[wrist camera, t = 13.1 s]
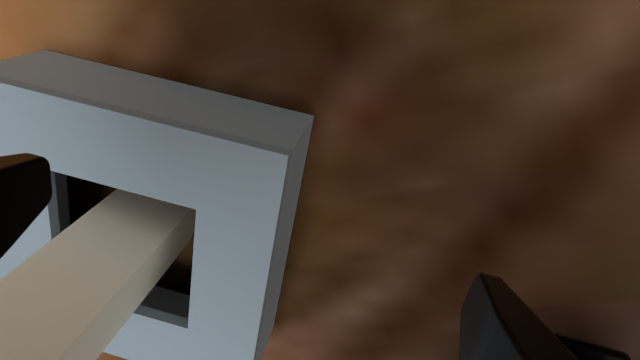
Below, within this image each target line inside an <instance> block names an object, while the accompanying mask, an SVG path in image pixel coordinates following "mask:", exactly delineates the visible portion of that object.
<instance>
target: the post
mask: <svg viewBox="0 0 640 360" xmlns="http://www.w3.org/2000/svg"><path fill="white" fill-rule="evenodd" d="M195 219H196V210H195V209H192V208H188V207H184V206H180V205H177V204H173V203H169V202H166V201H162V200H158V199H154V198H151V197H147V196H143V195H139V194H136V193H132V192H128V191H125V190H121V189H116V190H115V191H114V192H112V193H111V194H110V195H108V196H107V197H106V198H105V199H103V200H102V201H101V202H99V203H98V204H97V205H96V206H94V207H93V208H92V209H90V210H89V211H88V212H87V213H85V214H84V215H83V216H82V217H80V218H79V219H78V220H76V221H75V222H74V223H73V224H71V225H70V226H69V227H67V228H66V229H65V230H64V231H62V232H61V233H60V234H58V235H57V236H56V237H55V238H53V239H52V240H51V241H50V242H48V243H47V244H46V245H44V246H43V247H42V248H41V249H39V250H38V251H37V252H35V253H34V254H33V255H32V256H30V257H29V258H28V259H26V260H25V261H24V262H23V263H21V264H20V265H19V266H17V267H16V268H15V269H14V270H12V271H11V272H10V273H9V274H7V275H6V276H5V277H3V278H2V279H1V280H0V360H96V359H97V358H98V357H99V356H100V354H101V353H102V352H103V351H104V349H105V348H106V347H107V346H108V344H109V343H110V342H111V340H112V339H113V338H114V337H115V335H116V334H117V333H118V332H119V330H120V329H121V328H122V326H123V325H124V324H125V323H126V321H127V320H128V319H129V318H130V316H131V315H132V314H133V313H134V311H135V310H136V309H137V307H138V306H139V305H140V304H141V302H142V301H143V300H144V299H145V297H146V296H147V295H148V293H149V292H150V291H151V290H152V288H153V287H154V286H155V285H156V283H157V282H158V281H159V280H160V278H161V277H162V276H163V274H164V273H165V272H166V271H167V269H168V268H169V267H170V266H171V264H172V263H173V262H174V260H175V259H176V258H177V257H178V255H179V254H180V253H181V252H182V250H183V249H184V248H185V246H186V245H187V244H188V243H189V241H190V240H191V238H192V235H193V232H194V229H195Z"/></svg>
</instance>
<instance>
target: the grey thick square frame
mask: <svg viewBox="0 0 640 360" xmlns="http://www.w3.org/2000/svg"><path fill="white" fill-rule="evenodd" d="M313 119H314V116H313V115H309V114H305V113H301V112H297V111H293V110H289V109H285V108H281V107H277V106H273V105H268V104H264V103H260V102H256V101H252V100H248V99H244V98H240V97H236V96H232V95H228V94H224V93H220V92H216V91H211V90H207V89H203V88H199V87H195V86H191V85H187V84H183V83H179V82H175V81H171V80H167V79H163V78H159V77H155V76H150V75H146V74H142V73H138V72H134V71H130V70H126V69H122V68H118V67H114V66H110V65H106V64H102V63H98V62H93V61H89V60H85V59H81V58H77V57H73V56H69V55H65V54H61V53H57V52H53V51H49V50H41V51H37V52H33V53H29V54H25V55H21V56H17V57H13V58H9V59H5V60H1V61H0V156H6V155H14V154H21V153H30V154H34V155H38V156H42V157H45V158H46V159H47V160H48V161H49V163H50V170H51V179H52V189H53V194H52V198H51V201H50V202H49V204H48V205H47V206H46V207H45V209H44V210H43V211H42V212H41V213H40V214H39V216H38V217H37V218H36V219H35V220H34V221H33V222H32V224H31V225H30V226H29V227H28V228H27V229H26V231H25V232H24V233H23V234H22V235H21V236H20V238H19V239H18V240H17V241H16V242H15V243H14V244H13V246H12V247H11V248H10V249H9V250H8V251H7V252H6V253H5V255H4V256H3V257H2V258H1V259H0V280H1V279H2V278H3V277H5V276H6V275H7V274H9V273H10V272H11V271H12V270H14V269H15V268H16V267H17V266H19V265H20V264H21V263H23V262H24V261H25V260H26V259H28V258H29V257H30V256H32V255H33V254H34V253H35V252H37V251H38V250H39V249H41V248H42V247H43V246H44V245H46V244H47V243H48V242H50V241H51V240H52V239H53V238H55V237H56V236H57V235H58V234H60V233H61V232H62V231H64V230H65V229H66V228H67V227H69V226H70V215H69V203H68V191H67V179H66V175H69V176H72V177H76V178H80V179H84V180H87V181H91V182H95V183H98V184H102V185H106V186H110V187H113V188H117V189H121V190H125V191H128V192H132V193H136V194H139V195H143V196H147V197H151V198H154V199H158V200H162V201H166V202H169V203H173V204H177V205H180V206H184V207H188V208H192V209H195V210H196V219H195V233H194V247H193V261H192V275H191V289H190V295H187V294H183V293H180V292H176V291H173V290H169V289H166V288H162V287H159V286H154V287H153V288H152V290H151V291H150V292H149V293H148V295H147V296H146V297H145V299H144V300H143V301H142V302H141V304H140V305H139V306H138V307H137V309H136V310H135V311H134V313H133V314H132V315H131V316H130V318H129V319H128V320H127V321H126V323H125V324H124V325H123V326H122V328H121V329H120V330H119V332H118V333H117V334H116V335H115V337H114V338H113V339H112V340H111V342H110V343H109V344H108V346H107V347H106V348H105V349H104V351H103V352H105V353H109V354H112V355H115V356H119V357H122V358H125V359H129V360H261V358H262V356H263V353H264V350H265V348H266V345H267V343H268V340H269V337H270V335H271V332H272V330H273V327H274V322H275V317H276V312H277V306H278V301H279V296H280V291H281V286H282V280H283V275H284V270H285V265H286V260H287V254H288V249H289V244H290V239H291V234H292V228H293V223H294V218H295V213H296V208H297V202H298V197H299V192H300V187H301V182H302V176H303V171H304V166H305V161H306V156H307V150H308V145H309V140H310V135H311V130H312V124H313Z"/></svg>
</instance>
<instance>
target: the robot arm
mask: <svg viewBox="0 0 640 360" xmlns="http://www.w3.org/2000/svg"><path fill="white" fill-rule="evenodd" d="M52 194H53V189H52V179H51V170H50V163H49V161H48V160H47V159H46V158H45V157H42V156H38V155H34V154H30V153H21V154H14V155H6V156H0V259H1V258H2V257H3V256H4V255H5V253H6V252H7V251H8V250H9V249H10V248H11V247H12V246H13V244H14V243H15V242H16V241H17V240H18V239H19V238H20V236H21V235H22V234H23V233H24V232H25V231H26V229H27V228H28V227H29V226H30V225H31V224H32V222H33V221H34V220H35V219H36V218H37V217H38V216H39V214H40V213H41V212H42V211H43V210H44V209H45V207H46V206H47V205H48V204H49V202H50V201H51V198H52ZM460 360H631V359H630V357H629V356H626V355H624V354H620V353H616V352H613V351H609V350H605V349H602V348H598V347H594V346H591V345H587V344H583V343H580V342H576V341H572V340H569V339H565V338H561V337H558V336H555V335H554V334H553V332H552V331H551V330H550V329H549V328H548V327H547V326H546V325H545V324H544V323H543V322H542V321H541V320H540V319H539V318H538V317H537V316H536V315H535V314H534V313H533V312H532V311H531V309H530V308H529V307H528V306H527V305H526V304H525V303H524V302H523V301H522V300H521V299H520V298H519V297H518V296H517V295H516V294H515V293H514V292H513V291H512V290H511V289H510V287H509V286H508V285H507V284H506V283H505V282H504V281H503V280H502V279H501V278H499V277H496V276H492V275H488V274H484V273H479V274H477V275H476V277H475V278H474V281H473V283H472V285H471V287H470V290H469V292H468V294H467V296H466V299H465V301H464V303H463V306H462V310H461V322H460Z"/></svg>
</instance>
